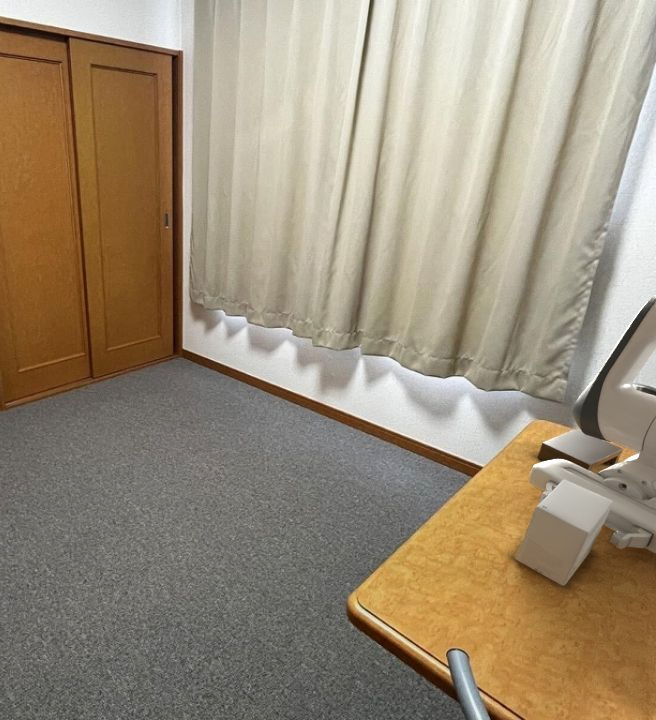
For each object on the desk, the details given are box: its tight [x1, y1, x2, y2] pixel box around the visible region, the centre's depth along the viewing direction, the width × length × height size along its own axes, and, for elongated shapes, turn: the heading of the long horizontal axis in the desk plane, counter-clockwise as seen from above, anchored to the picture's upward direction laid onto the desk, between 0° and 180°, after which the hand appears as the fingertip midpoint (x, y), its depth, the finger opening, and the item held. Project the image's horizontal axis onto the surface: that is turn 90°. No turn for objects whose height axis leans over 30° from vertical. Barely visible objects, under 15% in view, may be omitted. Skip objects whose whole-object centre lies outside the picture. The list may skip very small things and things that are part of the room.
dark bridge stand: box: [537, 428, 624, 472], centre depth 91 cm, size 8×11×4 cm
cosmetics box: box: [514, 480, 613, 587], centre depth 69 cm, size 10×6×10 cm, turn 126°
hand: (577, 520), depth 70 cm, fingers open, 8 cm apart
